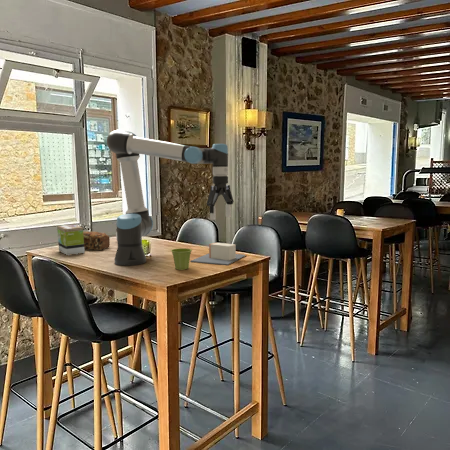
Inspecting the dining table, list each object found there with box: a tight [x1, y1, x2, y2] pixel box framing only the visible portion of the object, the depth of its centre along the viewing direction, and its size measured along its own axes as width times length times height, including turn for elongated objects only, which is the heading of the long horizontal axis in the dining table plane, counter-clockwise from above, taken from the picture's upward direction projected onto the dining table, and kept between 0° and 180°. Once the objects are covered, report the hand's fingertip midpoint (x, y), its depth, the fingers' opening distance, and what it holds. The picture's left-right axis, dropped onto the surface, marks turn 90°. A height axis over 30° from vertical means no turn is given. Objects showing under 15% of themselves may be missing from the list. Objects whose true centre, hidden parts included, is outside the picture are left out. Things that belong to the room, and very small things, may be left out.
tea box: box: [56, 224, 86, 256], centre depth 236 cm, size 15×10×15 cm
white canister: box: [208, 242, 237, 260], centre depth 216 cm, size 6×7×12 cm
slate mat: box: [190, 253, 246, 266], centre depth 217 cm, size 24×20×1 cm
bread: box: [83, 231, 111, 251], centre depth 249 cm, size 19×11×10 cm, turn 75°
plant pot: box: [170, 248, 193, 271], centre depth 196 cm, size 9×9×9 cm
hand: (220, 218), depth 214 cm, fingers open, 13 cm apart
